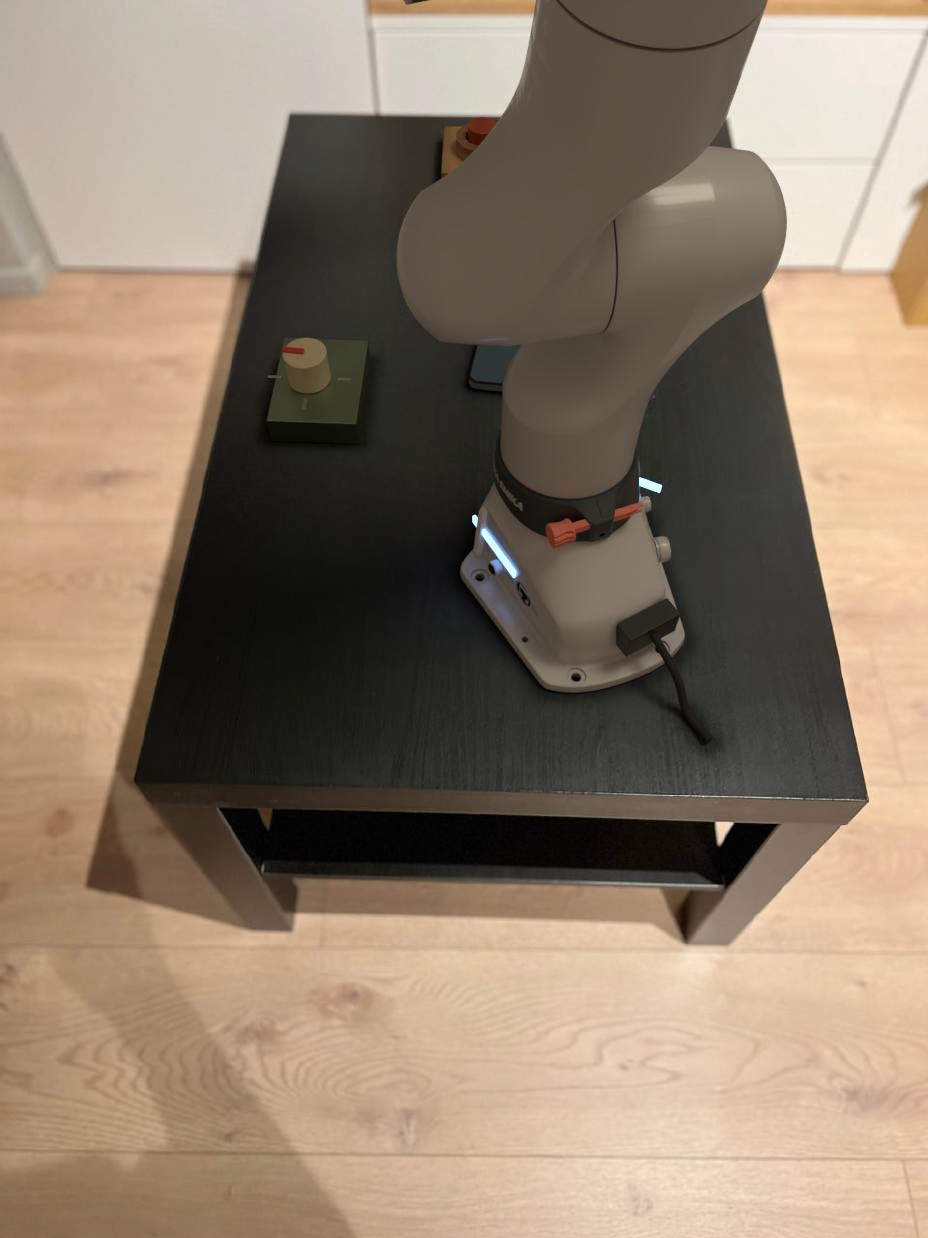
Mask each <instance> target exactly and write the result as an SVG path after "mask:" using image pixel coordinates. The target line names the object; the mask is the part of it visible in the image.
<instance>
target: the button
mask: <svg viewBox="0 0 928 1238" xmlns="http://www.w3.org/2000/svg"><path fill="white" fill-rule="evenodd" d="M468 123H469V124H468ZM468 123H467V124H468V141H469V142H470V143H471V144H474V145H477V146H479V145H480V144H481V143H482V141H483V140H484V139H485V138H486V137H487V135H488V134H489V133H490V132H491V130H492V129H493V127H494V126H495V125H496V123H497V122H496V121H495V120H494V119H492V118H490V117H486V116H485V117H483V116H480V117H474V118H473V119H471V120H470V121H469V122H468Z"/></svg>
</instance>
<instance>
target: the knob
mask: <svg viewBox="0 0 928 1238" xmlns="http://www.w3.org/2000/svg"><path fill="white" fill-rule="evenodd" d="M299 338H300V339H296V340H294V341H292V342H290V343H289V344H288V345H287V346H286V347H283V346H282V347H283V360H284V365H285V370H286V374H287V379H288V383H289V385H290V387H291V388H292V389H294V390H295V391H297V392H300V393H306V394H309V393H315V392H318V391H321V390H322V389H324V388H325V387H326V386H327V385H328V384H329V382H330V378H331V375H330V369H329V362H328V356H327V350H326V347H325V346H324V344H323V343H322V342H320V341H319V340H316V339H317V338H313V337H299Z"/></svg>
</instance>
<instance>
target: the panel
mask: <svg viewBox="0 0 928 1238" xmlns="http://www.w3.org/2000/svg"><path fill="white" fill-rule="evenodd" d="M300 338H301V337H299V338H298V337H284V338H283V344H282V348H281V352H280V357H279V362H278V366H277V371H276V375H273V374H268V375H267V379H269V380H275V381H274V385H273V389H272V394H271V399H270V404H269V408H268V414H267V417H266V423H267V427H268V432H269V436H270V439H271V442H288V443H290V442H291V443H314V444H315V443H317V444H319V443H320V444H343V445H345V444H346V445H347V444H348V445H359V444H360V441H361V440H360V438H361V433H362V426H363V421H364V420H363V419H364V418H363V417H364V413H365V412H364V411H365V404H366V399H367V392H368V385H369V378H370V371H371V364H372V358H371V349H370V342H369V340H367V339H366V340H362V339H337V338H336V339H331V338H315V339H316V340H319V341H320V342H322V343H323V344H324V346H325V347H326V350H327V356H328V362H329V369H330V375H331V378H330V382H329V384H328V385H327V386H326V387H325V388H324V389H322V390H321V391H318V392H315V393H309V394H306V393H300V392H297V391H295V390H294V389H292V388H291V387H290V385H289V383H288V379H287V374H286V370H285V365H284V360H283V347H286V346H287V345H288V344H289V343H290V342H292V341H294V340H296V339H300Z"/></svg>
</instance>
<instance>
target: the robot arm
mask: <svg viewBox="0 0 928 1238" xmlns="http://www.w3.org/2000/svg"><path fill="white" fill-rule="evenodd" d="M402 1H403V2H404V3H405V6H409V5H413V4H417V3H424V2H428V1H430V0H402ZM768 2H769V0H535V2H534V3H535V4H534V11H533V17H532V22H531V28H530V34H529V40H528V44H527V49H526V55H525V59H524V64H523V69H522V71H521V76H520V79H519V82H518V85H517V87H516V88H515V91H514V94H513V96H512V98H511V99H510V101H509V103H508V105H507V107H506V109H504V111H503V113H502V115H501V116H500V117H499V119H498V121H497V122H496V125H495V126H494V127H493V129H492V130H491V132H490V133H489V134H488V135H487V137H486V138H485V139H484V140H483V141H482V143H481V144H480V145H479V146H478V147H477V148H476V149H475V150H474V151H473V152H472V154H471V155H470V156H469V157H468V158H466V159H465V160H464V161H463V162H462V163H461V164H460V165H459V166H458V167H456V168H455V169H454V170H453V171H451V172H450V173H449V174H447V175H446V176H445V177H443V178H442V179H441V178H440V179H439V180H436V181H435V182H434V183H432V184H430V185H429V186H427V187H426V188H424V189H422V190H421V191H420V192H418V194H417V195H416V197H415V198H414V199H413V201H412V203H411V204H410V205H409V207H408V210H407V211H406V214H405V216H404V218H403V220H402V224H401V226H400V229H399V233H398V236H397V237H398V238H397V243H396V253H395V256H396V257H395V258H396V261H395V263H396V264H395V265H396V273H397V274H396V275H397V281H398V283H399V284H398V285H399V288H400V290H401V294H402V296H403V299H404V301H405V303H406V306H407V307H408V309H409V311H410V312H411V314H412V316H413V317H414V318H415V319H416V321H417V322H418V323H419V325H420V326H421V327H422V328H423V329H424V330H425V331H426V332H427V333H428V334H429V335H430V336H432V337H433V338H434V339H436V340H437V341H438V342H440V343H447V344H460V345H472V346H473V345H474V346H476V345H490V346H513V345H520V344H522V345H521V346H520V348H519V349H518V350H517V352H516V353H515V355H514V356H513V358H512V360H511V362H510V364H509V366H508V368H507V370H506V373H505V376H504V380H503V391H502V392H501V393H502V394H501V395H502V396H501V418H500V419H501V421H500V429H499V431H498V433H497V435H496V436H497V437H496V439H495V440H496V441H495V445H494V447H493V454H492V467H493V468H492V469H493V480H494V481H493V482H492V486H491V487H490V488H489V491H488V493H487V494H486V497H485V499H484V500H483V502H482V503H481V506H480V508H479V509H478V515H476V514H474V515H472V523H473V525H474V526H475V528H476V529H475V534H474V535H475V536H474V544H473V549H471V551H470V552H469V553H468V554H467V555H466V557H465V558H464V559H463V561H462V562H461V565H460V569H459V577H460V579H461V580H462V582H463V583H464V585H465V586H466V587H467V589H468V590H469V591H470V592H471V594H472V596H474V598H475V599H476V601H477V602H478V603H479V604H480V606H481V607H482V608H483V610H484V611H485V613H486V614H487V615H488V617H489V618H490V619H491V620H492V622H493V623H494V625H495V626H496V627H497V629H498V630H499V632H501V634H502V635H503V637H504V638H505V640H506V641H507V642H508V644H509V645H510V646H511V647H512V649H513V650H514V651H515V653H516V655H518V657H519V658H520V660H521V661H522V662H523V663H524V665H525V666H526V668H527V669H528V670H529V672H530V673H531V674H532V676H533V677H534V678H535V679H536V681H537V682H538V683H539V684H540V685H541V686H542V687H543V688H544V689H546V690H549V691H553V692H559V693H568V694H569V693H571V694H572V693H573V694H575V693H588V692H595V691H599V690H604V689H608V688H612V687H616V686H619V685H622V684H625V683H628V682H630V681H633V680H636V679H638V678H640V677H644V676H645V675H646V674H649V673H652V672H653V671H655V670H656V669H658V668H660V667H662V666H663V665H665V666H666V668H667V670H668V672H669V674H670V677H671V679H672V681H673V683H674V686H675V691H676V695H677V700H678V704H679V707H680V709H681V712H682V714H683V716H684V718H685V719H686V721H687V722H688V724H689V725H690V726H691V727H692V729H693V730H694V731H695V732H696V733H697V734H698V735H699V737H701V739H703V741H704V743H706V744H707V743H710V742H711V741H712V740H713V739H714V737H713V736H712V734H711V733H710V732H709V731H708V730H707V729H706V728H705V726H703V724H702V723H701V722H700V721H699V719H698V718H697V717H696V715H695V714H694V712H693V711H692V709H691V707H690V704H689V701H688V698H687V693H686V688H685V683H684V681H683V678H682V676H681V673H680V670H679V668H678V667H677V665H676V663H675V661H674V658H673V657H674V656H675V655H676V654H677V653H678V652H679V650H681V648H682V647H683V645H684V643H685V637H686V634H685V629H684V626H683V623H682V619H681V612H680V611H679V610H678V607H677V605H676V602H675V598H674V596H673V593H672V589H671V587H670V583H669V580H668V578H667V575H666V572H665V568H664V565H663V563H667V562H669V561H670V560H671V558H672V548H671V544H670V540H669V538H668V537H667V536H665V535H660V536H654V535H653V533H652V530H651V527H650V523H649V521H648V517H647V513H648V512H651V510H652V500H651V498H650V496H642V495H641V487H642V488H645V489H647V490H650V491H652V492H656V493H658V494H660V493H661V492H662V487H663V485H662V484H659V483H656V482H654V481H651V480H649V479H646V478H643V477H641V461H640V460H639V459H640V458H639V457H640V456H639V448H638V439H639V435H640V432H641V428H642V425H643V421H644V417H645V415H646V411H647V408H648V405H649V402H650V400H651V397H652V396H653V393H654V392H655V390H656V388H657V386H658V385H659V383H661V381H662V379H663V378H664V376H665V375H666V374H667V373H668V372H669V371H670V369H671V368H672V366H673V365H674V364H675V363H676V362H677V361H678V360H679V359H680V357H682V355H683V354H684V353H685V352H686V351H687V349H688V348H690V346H692V344H693V343H694V342H695V341H696V340H697V339H699V338H700V337H701V336H702V335H703V334H704V333H706V331H707V330H708V329H710V328H711V327H712V326H714V325H715V324H716V323H717V322H719V321H720V320H722V319H723V318H725V316H727V315H728V314H729V313H731V312H733V311H734V310H736V309H738V308H740V307H741V306H743V305H744V304H746V303H748V302H750V301H751V300H753V299H755V298H756V297H758V296H760V294H761V293H763V291H764V290H765V288H766V287H767V285H768V284H769V282H770V281H771V279H772V277H773V276H774V274H775V272H776V270H777V268H778V266H779V264H780V261H781V258H782V255H783V251H784V248H785V243H786V240H787V239H786V238H787V229H788V214H787V207H786V202H785V197H784V194H783V192H782V188H781V186H780V184H779V182H778V180H777V178H776V176H775V173H774V172H773V171H772V169H771V168H770V167H769V166H768V164H767V163H766V162H765V161H764V159H762V157H761V156H760V155H759V154H757V153H756V152H755V151H751V150H747V149H741V148H740V149H739V148H731V147H723V146H713V145H711V144H712V142H713V141H714V140H715V138H716V137H717V136H718V134H719V132H720V131H721V129H722V127H723V125H724V124H725V121H726V120H727V118H728V115H729V111H730V109H731V106H732V104H733V101H734V98H735V95H736V92H737V90H738V87H739V83H740V81H741V78H742V75H743V72H744V69H745V67H746V64H747V61H748V58H749V56H750V53H751V50H752V47H753V44H754V41H755V38H756V36H757V33H758V30H759V27H760V24H761V22H762V19H763V16H764V13H765V11H766V7H767V5H768ZM478 579H482V580H481V581H480V580H478ZM573 678H577V679H579V680H578V681H575V680H573Z"/></svg>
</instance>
